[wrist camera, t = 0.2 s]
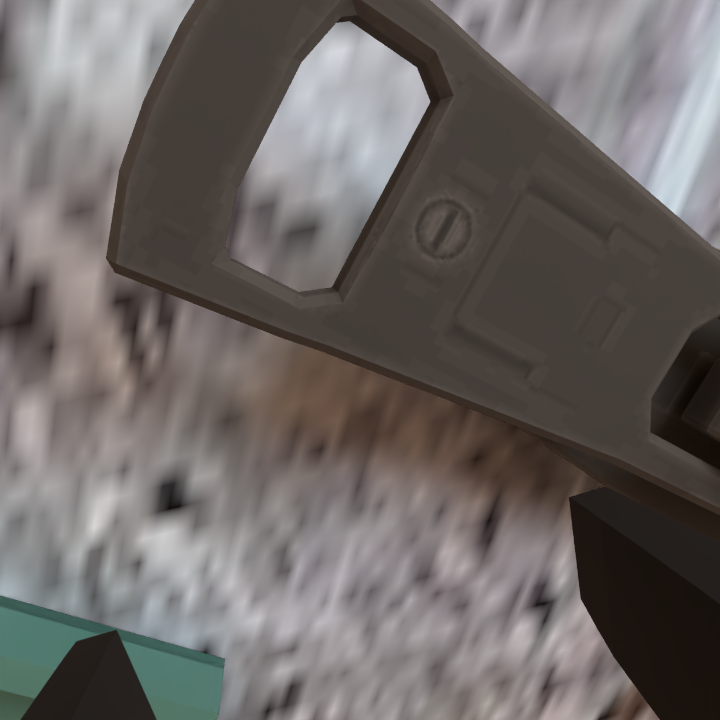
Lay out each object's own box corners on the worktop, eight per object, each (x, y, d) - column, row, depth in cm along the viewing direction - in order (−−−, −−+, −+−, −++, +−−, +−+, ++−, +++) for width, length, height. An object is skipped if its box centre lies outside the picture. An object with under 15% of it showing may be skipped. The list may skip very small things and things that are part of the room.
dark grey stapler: (269, -183, 12) (1179, 434, 17) (270, -42, 18) (930, 374, 23) (51, 278, 13) (968, 727, 18) (123, 257, 19) (785, 592, 24)
